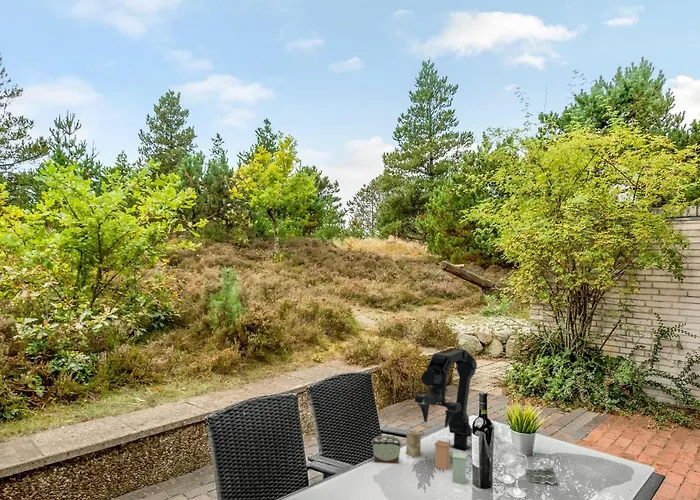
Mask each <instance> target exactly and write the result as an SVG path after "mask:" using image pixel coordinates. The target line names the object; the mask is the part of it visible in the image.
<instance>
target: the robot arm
mask: <svg viewBox="0 0 700 500" xmlns="http://www.w3.org/2000/svg"><path fill="white" fill-rule="evenodd" d="M454 363H455V365H456V371H457V374H458V376H459V381H458V386H457V393H456V400H455V401H447V398H446V392H448V388H447V383H448V382H447V380H448V375H449V374H450V373H449V369H450V368H451V367H452V366H453V364H454ZM477 368H478V364H477V361H476V359H475V358H474V356H472V355H471V354H470V353H469V352H468V350H466V349H464V348H463V349H462V348H456V349H454V350H451V351H449V352H447V353H437V352H436V353H434V354H433V355H432V357H431V359H430V361H429V363H428V366H427V368H426V370H425V371H424V372H423V373H422V374H421V380H422V381H421V382H422V383H423V385H425V386H427V387H428V386H430V387H429V391H427V392H426V393H425V394H416V395H415V397H414V402H415V403H416V404H417V405H418V406H419V407H420V409H421V412H422V416H423V421H424V423H427V421H428V417H429V408H430V405H431V406H435V405H436V406H440V407H444V408H446V410H445V409H444V410H445V421H444V428H447V427H448V428H449V433H450V434H453V444H452V445H450V448H451V449H454V450H458V451H461V452H465V451H467V450H468V449H470V448H471V446H470V445H468V437H472V434H473V429H472V427H471V425H470V418H469V416H468V415H469V414H468V413H467V408H468V400H469V393H470V384H471V379H472V378H473V376H475V374H476V370H477Z"/></svg>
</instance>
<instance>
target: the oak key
mask: <svg viewBox="0 0 700 500" xmlns="http://www.w3.org/2000/svg"><path fill="white" fill-rule="evenodd" d="M405 434H406V444H405V446H406V447H405V449H406V455H408V456H409V457H411V458H412V459H413V458H417V457H421V438H422V433H421V432H419V431H417V430H415V429H414V430H413V429H412V430H407V431H405Z"/></svg>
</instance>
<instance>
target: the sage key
mask: <svg viewBox="0 0 700 500" xmlns="http://www.w3.org/2000/svg"><path fill="white" fill-rule="evenodd" d="M451 458H452V482H453V483H457V484H458V483H459V484H466V461H467V453H463V452H454V451H452V457H451Z"/></svg>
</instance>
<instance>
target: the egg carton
mask: <svg viewBox="0 0 700 500" xmlns="http://www.w3.org/2000/svg"><path fill="white" fill-rule="evenodd" d="M524 469H525V477H526V481H528V482H530V481H531V482H530V483H532V482H535V481H540V482H545V481H549V482H551V483H554V482H555V481H556V482H557V480H558V478H557V475H556V474H555V471H554V469H553V467H551V466H549V467H544V468H530V469H529V468H524ZM540 475H541V476H540ZM546 475H550V476H552V477H546ZM542 476H545V477H542ZM535 483H536V482H535Z"/></svg>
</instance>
